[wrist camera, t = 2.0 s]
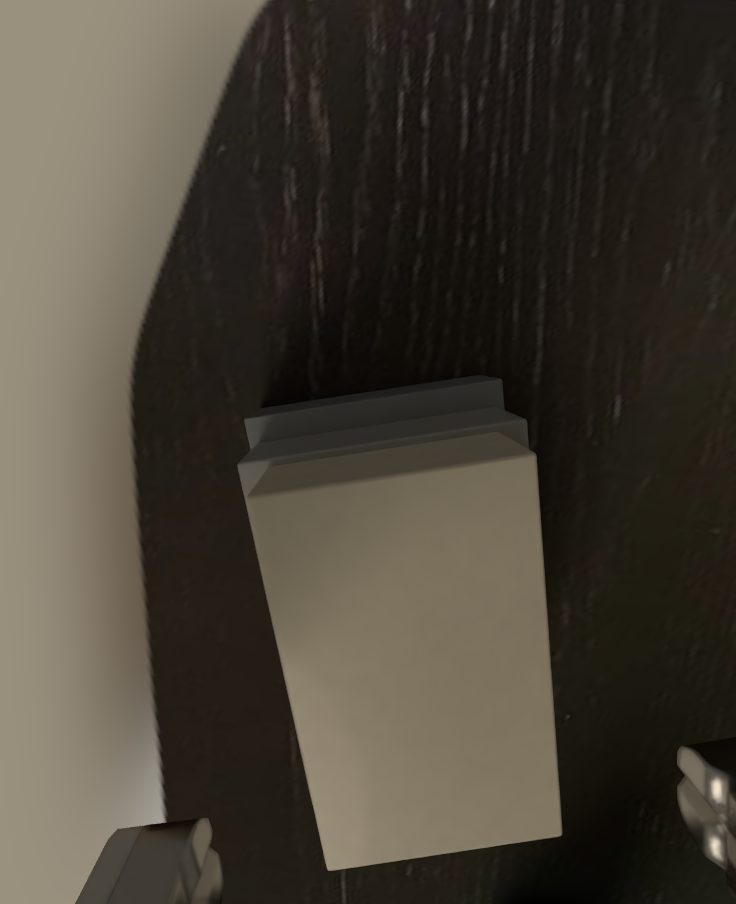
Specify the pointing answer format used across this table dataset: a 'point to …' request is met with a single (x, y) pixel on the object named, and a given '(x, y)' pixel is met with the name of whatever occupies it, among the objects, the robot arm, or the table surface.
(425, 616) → the white book
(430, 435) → the grey stack
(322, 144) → the table surface
